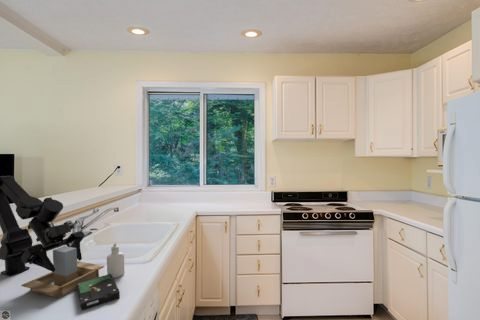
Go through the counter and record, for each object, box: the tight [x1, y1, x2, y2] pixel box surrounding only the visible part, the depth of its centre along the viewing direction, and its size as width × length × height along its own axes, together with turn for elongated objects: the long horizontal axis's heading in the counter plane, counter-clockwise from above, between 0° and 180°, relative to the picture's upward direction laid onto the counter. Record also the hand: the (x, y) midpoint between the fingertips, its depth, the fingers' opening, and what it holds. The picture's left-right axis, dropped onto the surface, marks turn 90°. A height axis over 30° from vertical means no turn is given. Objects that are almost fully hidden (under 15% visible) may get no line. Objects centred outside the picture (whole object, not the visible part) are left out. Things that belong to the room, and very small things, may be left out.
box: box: [52, 245, 79, 286], centre depth 89 cm, size 6×4×12 cm, turn 69°
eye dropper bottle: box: [106, 242, 126, 279], centre depth 94 cm, size 4×6×12 cm
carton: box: [20, 260, 105, 299], centre depth 89 cm, size 14×19×3 cm
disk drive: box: [76, 274, 121, 311], centre depth 82 cm, size 10×3×15 cm
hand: (68, 265), depth 88 cm, fingers open, 9 cm apart
